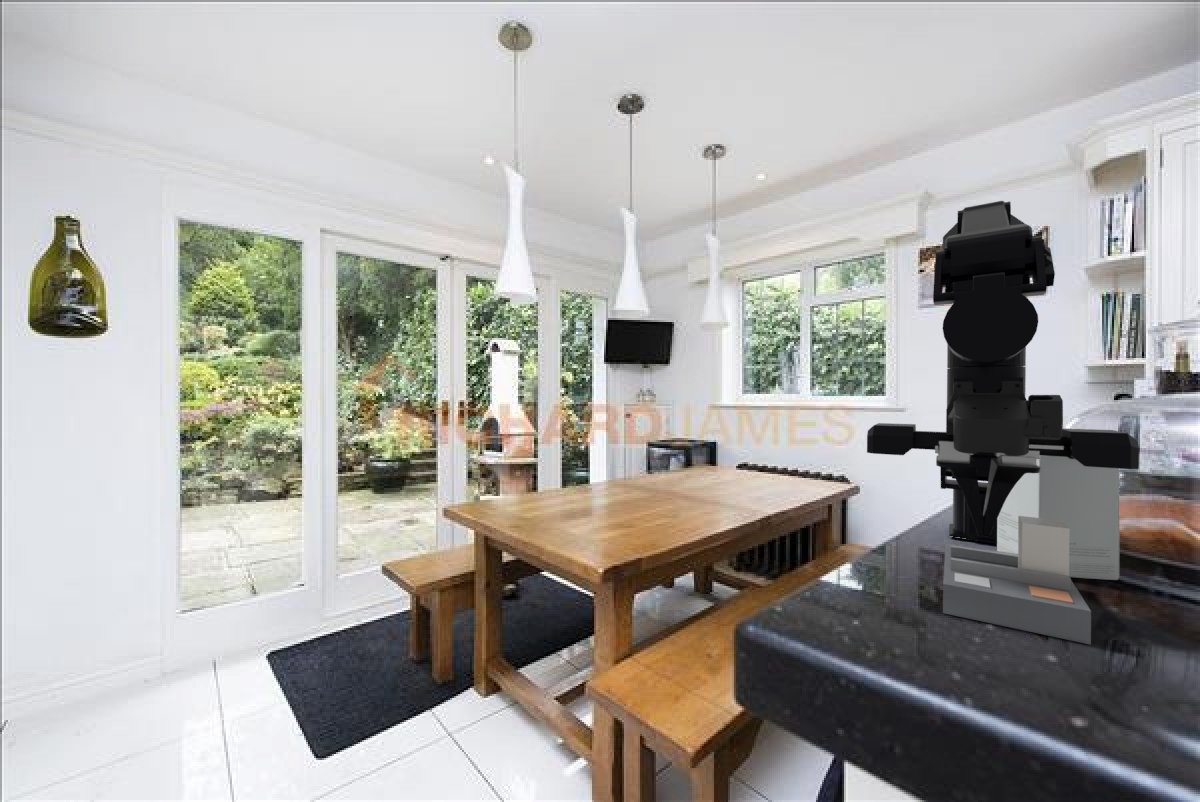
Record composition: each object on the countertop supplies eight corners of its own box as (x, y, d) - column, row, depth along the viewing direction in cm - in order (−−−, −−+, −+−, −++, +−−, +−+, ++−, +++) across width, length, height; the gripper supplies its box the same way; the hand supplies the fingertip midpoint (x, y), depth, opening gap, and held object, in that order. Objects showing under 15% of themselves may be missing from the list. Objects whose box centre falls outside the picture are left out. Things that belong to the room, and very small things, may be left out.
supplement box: (1122, 581, 49) (1124, 455, 48) (1036, 576, 50) (1037, 453, 50) (1068, 557, 56) (1069, 447, 56) (994, 553, 57) (995, 446, 57)
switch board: (945, 566, 53) (945, 534, 53) (1058, 585, 48) (1058, 549, 48) (942, 613, 42) (943, 572, 42) (1090, 644, 36) (1091, 597, 36)
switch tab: (1018, 567, 45) (1018, 515, 45) (1062, 574, 43) (1062, 520, 43) (1021, 577, 43) (1022, 523, 43) (1069, 585, 41) (1069, 528, 41)
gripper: (859, 367, 44) (858, 539, 44) (1167, 358, 33) (1164, 585, 33) (873, 372, 53) (872, 514, 53) (1118, 366, 42) (1116, 544, 43)
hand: (983, 535), depth 45 cm, fingers closed
